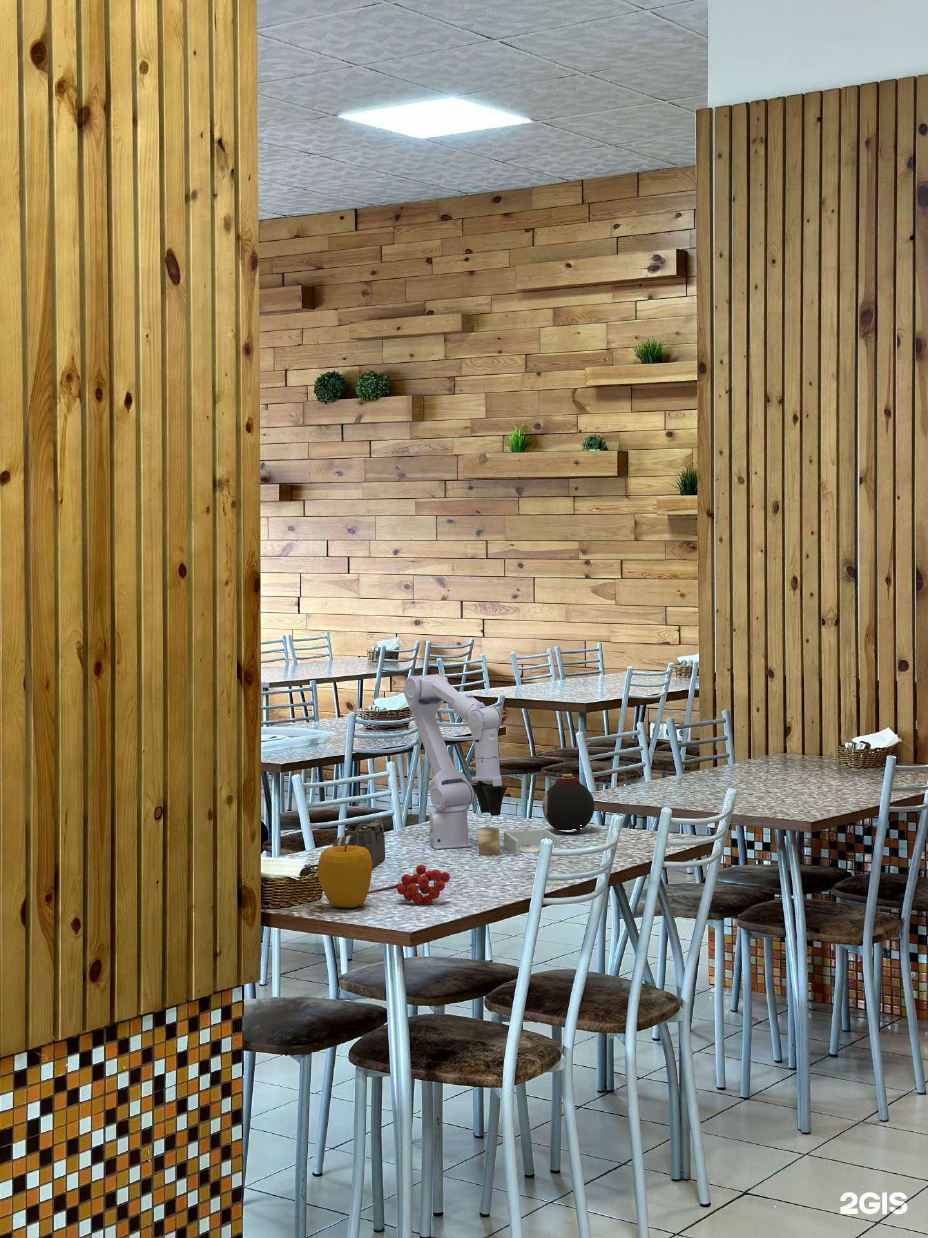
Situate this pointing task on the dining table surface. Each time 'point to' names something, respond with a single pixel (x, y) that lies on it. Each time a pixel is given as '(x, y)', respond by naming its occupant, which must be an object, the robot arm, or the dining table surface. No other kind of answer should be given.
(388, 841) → the dining table surface
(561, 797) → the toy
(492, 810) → the robot arm
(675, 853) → the dining table surface
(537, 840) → the shallow grey tray
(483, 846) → the birch cylinder
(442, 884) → the decorative berry sprig
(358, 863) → the apple
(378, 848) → the camera
